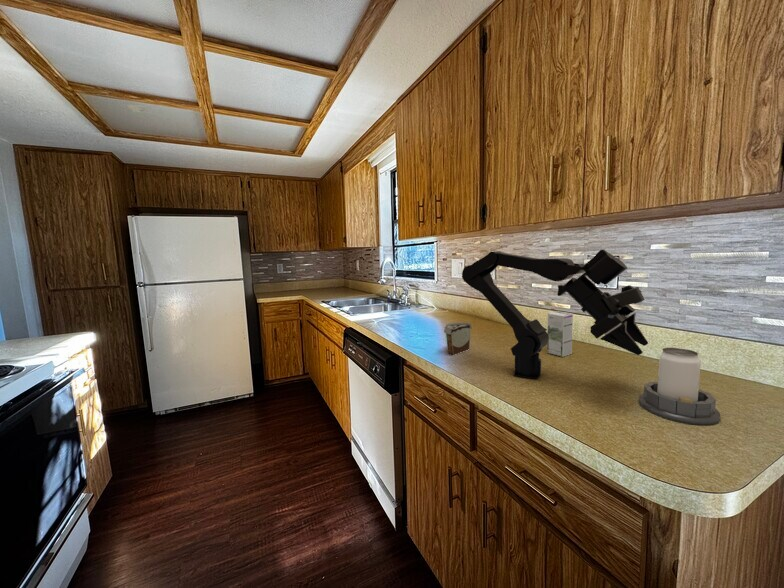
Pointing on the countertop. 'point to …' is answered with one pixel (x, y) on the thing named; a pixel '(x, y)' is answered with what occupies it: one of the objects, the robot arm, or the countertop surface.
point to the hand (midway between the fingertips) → (643, 349)
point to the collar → (680, 406)
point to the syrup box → (560, 333)
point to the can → (679, 373)
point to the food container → (458, 337)
